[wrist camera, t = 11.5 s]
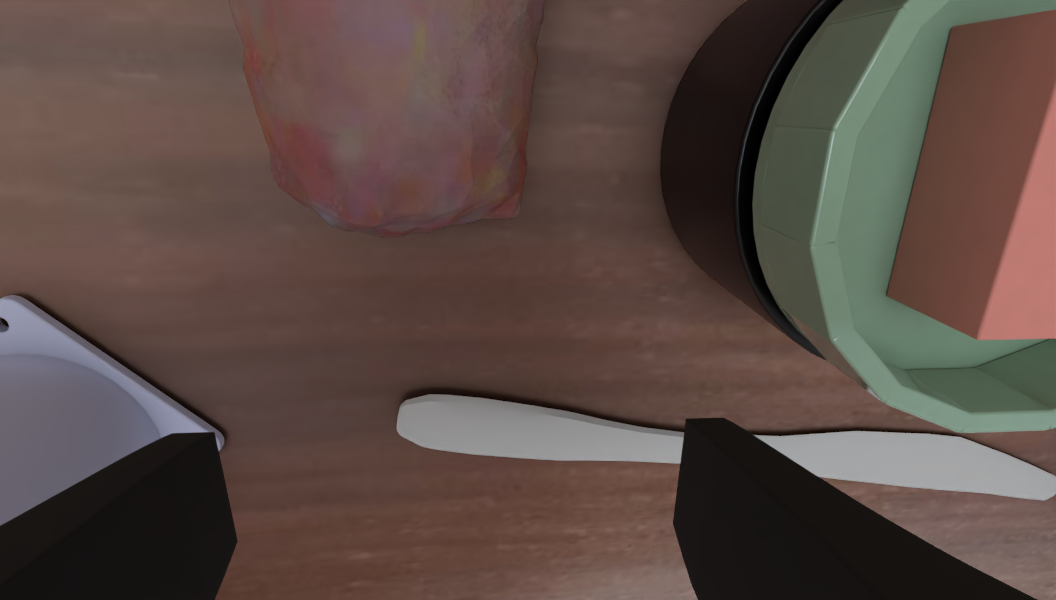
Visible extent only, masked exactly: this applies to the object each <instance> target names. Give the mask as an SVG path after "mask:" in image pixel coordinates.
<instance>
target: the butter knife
mask: <svg viewBox="0 0 1056 600" xmlns="http://www.w3.org/2000/svg"><path fill="white" fill-rule="evenodd" d="M397 432H398V433H399V434H400V435H401V436H402V437H404V438H406V439H408V440H410V441H412V442H414V443H416V444H418V445H420V446H422V447H426V448H431V449H436V450H442V451H450V452H458V453H466V454H474V455H487V456H500V457H513V458H527V459H543V460H596V461H639V462H659V463H679V464H680V463H681V455H682V447H683V439H684V432H677V431H669V430H661V429H653V428H646V427H638V426H633V425H628V424H623V423H618V422H613V421H608V420H604V419H599V418H595V417H591V416H586V415H582V414H578V413H573V412H569V411H563V410H557V409H551V408H545V407H539V406H533V405H527V404H520V403H513V402H506V401H500V400H493V399H486V398H478V397H467V396H456V395H441V394H428V395H424V396H420V397H416V398H412V399H408V400H405V401H404V402H403V403H402V404H401V405H400V408H399V413H398V419H397ZM754 436H756V437H757V438H759V439H760V440H762V441H763V442H765V443H767V444H768V445H770V446H771V447H773V448H774V449H776V450H777V451H779V452H781V453H782V454H784V455H785V456H787V457H788V458H790V459H791V460H793V461H794V462H796V463H797V464H799V465H801V466H802V467H804V468H805V469H807V470H808V471H810V472H811V473H813V474H815V475H816V476H818V477H825V478H833V479H841V480H850V481H859V482H869V483H878V484H887V485H896V486H905V487H916V488H927V489H938V490H950V491H963V492H975V493H988V494H995V495H1002V496H1009V497H1016V498H1025V499H1035V500H1047V499H1049V498H1050V497H1052V496H1054V495H1055V494H1056V476H1054V475H1052V474H1050V473H1048V472H1046V471H1043V470H1041V469H1039V468H1037V467H1035V466H1033V465H1031V464H1028V463H1026V462H1024V461H1021V460H1019V459H1017V458H1014V457H1012V456H1009V455H1007V454H1005V453H1002V452H999V451H997V450H994V449H991V448H989V447H986V446H983V445H980V444H978V443H975V442H972V441H970V440H967V439H964V438H962V437H955V436H945V435H935V434H920V433H895V432H869V431H847V432H833V433H819V434H804V435H790V436H765V435H754Z"/></svg>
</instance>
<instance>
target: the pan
mask: <svg viewBox="0 0 1056 600" xmlns="http://www.w3.org/2000/svg"><path fill="white" fill-rule="evenodd" d="M1050 10H1056V0H843V1H842V2H841V3H840V4H839V5H838V6H837V7H836V8H835V9H834V10H833V11H832V12H831V14H830V15H829V16H828V17H827V18H826V20H825V21H824V22H823V24H822V25H821V26H820V28H819V29H818V30H817V32H816V33H815V34H814V36H813V37H812V38H811V40H810V41H809V42H808V44H807V45H806V46H805V48H804V50H803V51H802V53H801V55H800V56H799V58H798V60H797V61H796V63H795V65H794V66H793V68H792V70H791V71H790V73H789V75H788V76H787V78H786V80H785V83H784V85H783V87H782V89H781V91H780V93H779V96H778V98H777V100H776V102H775V104H774V106H773V109H772V111H771V114H770V117H769V120H768V123H767V126H766V129H765V132H764V135H763V138H762V141H761V146H760V151H759V156H758V161H757V165H756V170H755V178H754V190H753V202H752V207H753V229H754V237H755V243H756V248H757V254H758V259H759V262H760V265H761V268H762V271H763V274H764V277H765V280H766V283H767V286H768V288H769V289H770V291H771V293H772V295H773V297H774V299H775V301H776V303H777V305H778V307H779V308H780V310H781V311H782V312H783V314H784V315H785V316H786V318H787V319H788V320H789V322H790V323H791V324H792V326H793V327H794V328H795V329H796V330H797V331H798V332H799V333H800V334H801V335H802V336H803V337H804V338H805V339H806V340H807V341H808V342H810V343H811V344H812V345H814V346H815V347H816V348H817V350H818V351H819V352H820V353H821V354H822V355H823V357H824V358H825V359H826V360H827V361H828V362H830V363H831V364H832V365H834V366H835V367H836V368H838V369H839V370H840V371H842V372H843V373H844V374H846V375H847V376H848V377H850V378H851V379H852V380H854V381H855V382H856V383H857V384H859V385H860V386H861V387H863V388H864V389H865V390H867V391H868V392H869V393H871V394H872V395H873V396H875V397H876V398H877V399H879V400H880V401H881V402H883V403H884V404H886V405H889V406H891V407H894V408H896V409H899V410H901V411H904V412H906V413H909V414H912V415H914V416H917V417H919V418H922V419H924V420H927V421H929V422H932V423H935V424H937V425H940V426H942V427H945V428H947V429H950V430H952V431H955V432H958V433H981V432H1010V431H1039V430H1048V429H1054V428H1056V339H1016V340H976V339H974V338H972V337H970V336H968V335H966V334H964V333H962V332H960V331H958V330H956V329H954V328H951V327H949V326H947V325H945V324H943V323H941V322H939V321H937V320H935V319H933V318H931V317H929V316H927V315H925V314H922V313H920V312H918V311H916V310H914V309H912V308H910V307H908V306H906V305H904V304H902V303H900V302H898V301H896V300H893V299H891V298H889V297H887V291H888V287H889V283H890V278H891V274H892V270H893V266H894V262H895V258H896V254H897V250H898V246H899V241H900V237H901V233H902V229H903V225H904V221H905V217H906V213H907V208H908V204H909V200H910V196H911V192H912V188H913V184H914V180H915V176H916V171H917V167H918V163H919V159H920V155H921V151H922V147H923V143H924V138H925V134H926V130H927V126H928V122H929V118H930V114H931V110H932V106H933V101H934V97H935V93H936V89H937V85H938V81H939V77H940V73H941V68H942V64H943V60H944V56H945V52H946V48H947V44H948V40H949V36H950V31H951V29H952V27H954V26H958V25H964V24H970V23H976V22H983V21H989V20H995V19H1001V18H1007V17H1013V16H1020V15H1026V14H1032V13H1038V12H1044V11H1050Z"/></svg>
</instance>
